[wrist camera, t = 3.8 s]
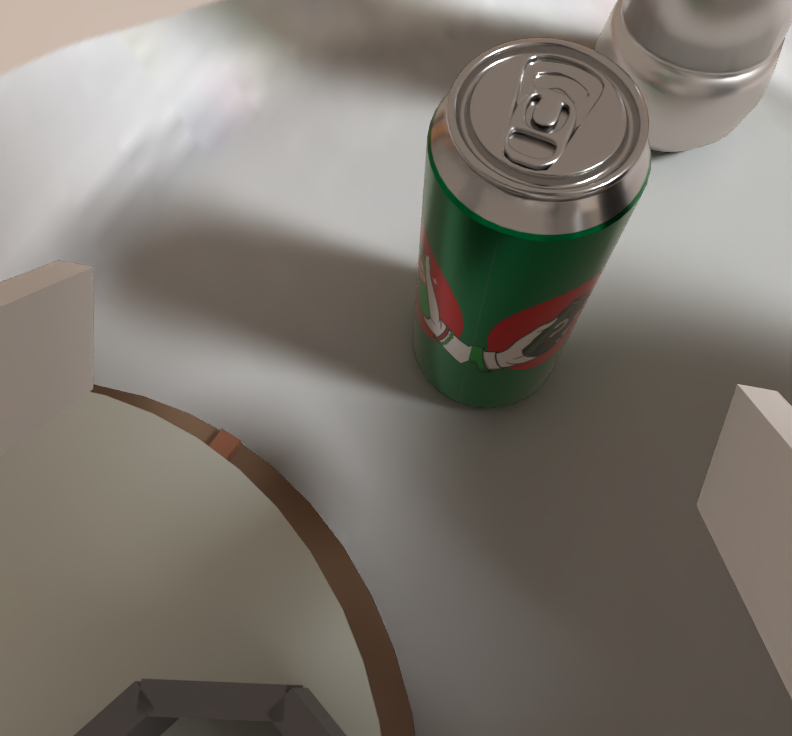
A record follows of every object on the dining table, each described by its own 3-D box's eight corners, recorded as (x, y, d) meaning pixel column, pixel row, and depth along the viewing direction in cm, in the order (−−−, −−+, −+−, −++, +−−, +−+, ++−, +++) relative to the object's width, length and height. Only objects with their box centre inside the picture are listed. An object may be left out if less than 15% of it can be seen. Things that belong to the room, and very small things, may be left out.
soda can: (571, 315, 27) (695, 65, 16) (525, 436, 26) (629, 245, 15) (444, 267, 28) (480, -4, 17) (390, 380, 26) (391, 160, 15)
